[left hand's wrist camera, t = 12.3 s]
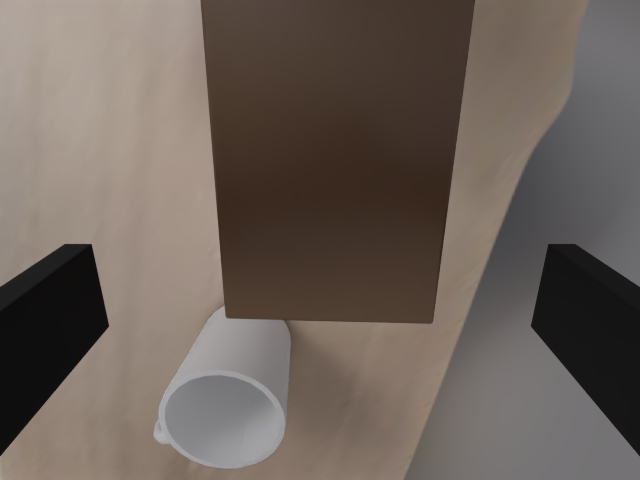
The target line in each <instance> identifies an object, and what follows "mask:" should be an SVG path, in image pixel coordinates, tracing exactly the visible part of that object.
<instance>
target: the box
mask: <svg viewBox="0 0 640 480" xmlns="http://www.w3.org/2000/svg"><path fill="white" fill-rule="evenodd" d="M474 4H475V0H201V12H202V25H203V37H204V50H205V63H206V75H207V88H208V101H209V114H210V126H211V139H212V152H213V164H214V177H215V190H216V203H217V215H218V228H219V241H220V253H221V266H222V279H223V292H224V304H225V316H226V318H228V319H265V320H305V321H345V322H386V323H426V324H430V323H432V322H433V317H434V310H435V302H436V294H437V287H438V279H439V272H440V264H441V256H442V249H443V241H444V233H445V226H446V218H447V210H448V203H449V195H450V187H451V180H452V172H453V165H454V157H455V149H456V142H457V134H458V126H459V119H460V111H461V103H462V96H463V88H464V80H465V73H466V65H467V58H468V50H469V42H470V35H471V27H472V19H473V12H474Z"/></svg>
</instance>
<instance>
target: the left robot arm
mask: <svg viewBox="0 0 640 480" xmlns="http://www.w3.org/2000/svg"><path fill="white" fill-rule="evenodd" d="M108 327H109V323H108V319H107V314H106V309H105V305H104V300H103V295H102V291H101V286H100V281H99V277H98V272H97V267H96V263H95V258H94V253H93V249H92V244H64V245H63V246H61V247H60V248H58V249H57V250H55V251H54V252H52V253H51V254H49V255H48V256H46V257H45V258H43V259H42V260H40V261H39V262H37V263H36V264H34V265H33V266H31V267H30V268H28V269H27V270H25V271H24V272H22V273H21V274H19V275H18V276H16V277H15V278H13V279H12V280H10V281H9V282H7V283H6V284H4V285H3V286H1V287H0V456H1V455H2V454H3V452H4V451H5V450H6V449H7V448H8V446H9V445H10V444H11V443H12V442H13V440H14V439H15V438H16V437H17V436H18V434H19V433H20V432H21V431H22V430H23V428H24V427H25V426H26V425H27V424H28V422H29V421H30V420H31V419H32V418H33V417H34V415H35V414H36V413H37V412H38V411H39V409H40V408H41V407H42V406H43V405H44V403H45V402H46V401H47V400H48V399H49V397H50V396H51V395H52V394H53V393H54V391H55V390H56V389H57V388H58V387H59V385H60V384H61V383H62V382H63V381H64V380H65V378H66V377H67V376H68V375H69V374H70V372H71V371H72V370H73V369H74V368H75V366H76V365H77V364H78V363H79V362H80V360H81V359H82V358H83V357H84V356H85V354H86V353H87V352H88V351H89V350H90V348H91V347H92V346H93V345H94V344H95V343H96V341H97V340H98V339H99V338H100V337H101V335H102V334H103V333H104V332H105V331H106V329H107V328H108ZM531 327H532V328H533V329H534V331H535V332H536V333H537V334H538V335H539V337H540V338H541V339H542V340H543V341H544V342H545V344H546V345H547V346H548V347H549V348H550V350H551V351H552V352H553V353H554V354H555V356H556V357H557V358H558V359H559V360H560V362H561V363H562V364H563V365H564V366H565V368H566V369H567V370H568V371H569V372H570V373H571V375H572V376H573V377H574V378H575V380H576V381H577V382H578V383H579V384H580V385H581V387H582V388H583V389H584V390H585V391H586V393H587V394H588V395H589V396H590V397H591V399H592V400H593V401H594V402H595V403H596V405H597V406H598V407H599V408H600V409H601V411H602V412H603V413H604V414H605V415H606V417H607V418H608V419H609V420H610V421H611V422H612V424H613V425H614V426H615V427H616V428H617V430H618V431H619V432H620V433H621V434H622V436H623V437H624V438H625V439H626V440H627V442H628V443H629V444H630V445H631V446H632V448H633V449H634V450H635V451H636V452H637V453H638V455H639V456H640V287H639V286H637V285H636V284H634V283H633V282H631V281H630V280H628V279H627V278H625V277H624V276H622V275H621V274H619V273H618V272H616V271H615V270H613V269H612V268H610V267H609V266H607V265H606V264H604V263H603V262H601V261H600V260H598V259H597V258H595V257H594V256H592V255H591V254H589V253H588V252H586V251H585V250H583V249H582V248H580V247H579V246H577V245H576V244H548V249H547V253H546V258H545V263H544V267H543V272H542V277H541V281H540V286H539V291H538V295H537V300H536V305H535V309H534V314H533V319H532V323H531Z"/></svg>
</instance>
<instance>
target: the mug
mask: <svg viewBox="0 0 640 480" xmlns="http://www.w3.org/2000/svg"><path fill="white" fill-rule="evenodd" d="M290 350H291V336H290V331H289V328H288V326H287V324H286V322H285V321H284V320H265V319H228V318H226V316H225V305H223V306H222V307H220V308H219V309H217V310H216V311H215V312H214V313H213V314H212V315H211V316H210V317H209V319H208V321H207V322H206V324H205V326H204V327H203V329H202V331H201V332H200V334H199V336H198V337H197V339H196V341H195V342H194V344H193V346H192V347H191V349H190V351H189V353H188V354H187V356H186V358H185V359H184V361H183V363H182V364H181V366H180V368H179V369H178V371H177V373H176V374H175V376H174V378H173V379H172V381H171V383H170V384H169V386H168V388H167V390H166V391H165V393H164V396H163V398H162V400H161V403H160V405H159V418H158V420H157V422H156V424H155V428H154V438H155V440H157V441H158V442H160V443H161V444H163V445H164V444H171V445H172V446H173V447H174V448H175V449H176V450H177V451H178V452H179V453H181V454H182V455H184V456H186V457H187V458H189V459H191V460H192V461H194V462H197V463H200V464H203V465H206V466H209V467H216V468H222V469H230V468H242V467H246V466H250V465H254V464H256V463H258V462H260V461H262V460H264V459H266V458H267V457H268V456H269V455H271V454H272V453H273V452H274V451H275V450H276V449H277V448H278V446H279V444H280V442H281V441H282V439H283V436H284V431H285V426H286V417H287V400H288V383H289V367H290Z"/></svg>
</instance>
